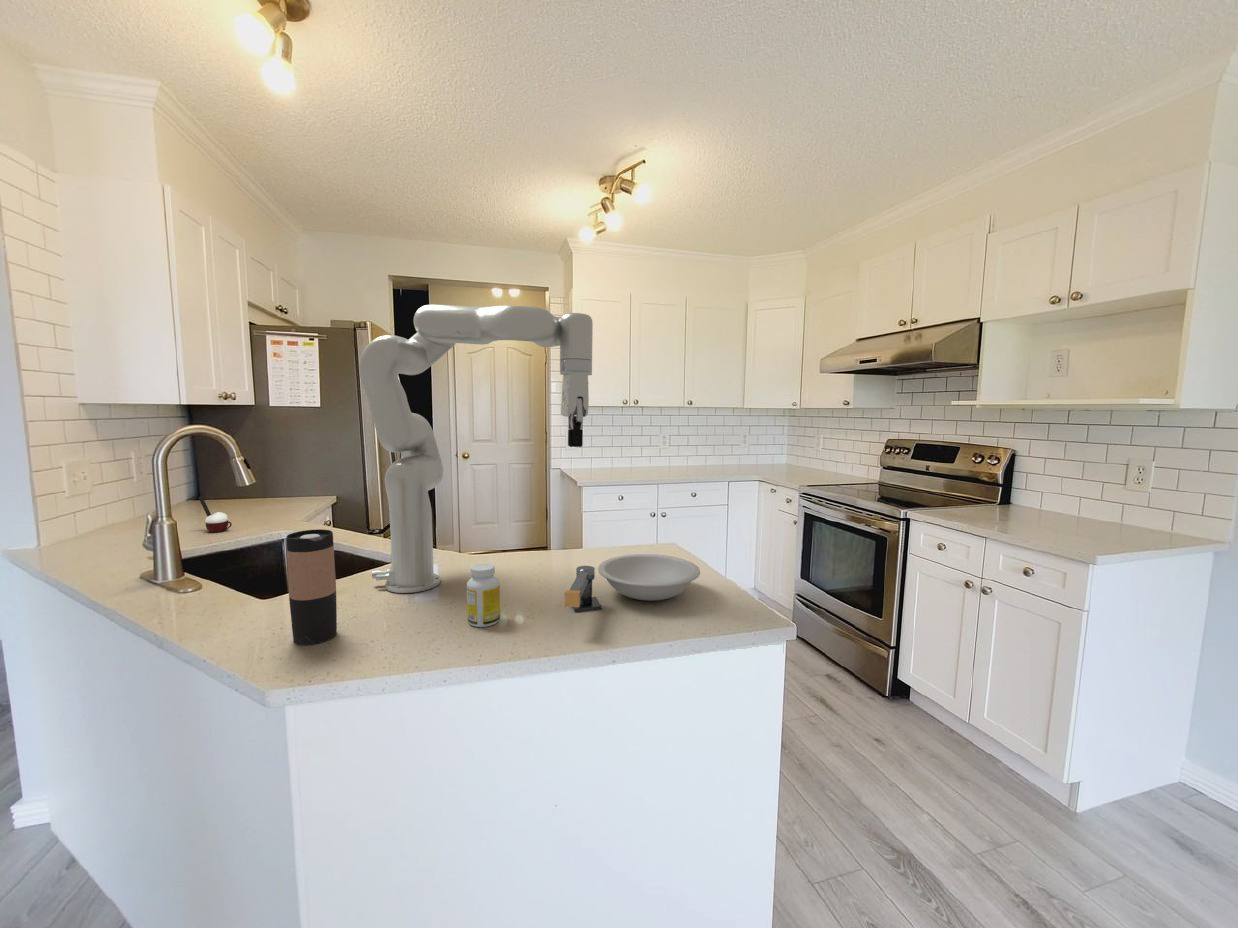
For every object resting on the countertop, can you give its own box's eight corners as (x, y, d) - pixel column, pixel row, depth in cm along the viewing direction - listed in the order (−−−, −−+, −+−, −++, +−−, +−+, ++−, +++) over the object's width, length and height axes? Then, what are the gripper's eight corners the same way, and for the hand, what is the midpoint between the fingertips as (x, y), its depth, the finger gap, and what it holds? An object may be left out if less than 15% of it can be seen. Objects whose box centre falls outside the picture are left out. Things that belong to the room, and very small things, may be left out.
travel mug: (304, 628, 101) (299, 529, 99) (345, 627, 102) (340, 528, 100) (283, 646, 94) (276, 539, 92) (326, 645, 94) (321, 538, 92)
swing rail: (578, 576, 116) (578, 563, 116) (595, 576, 116) (595, 564, 116) (561, 606, 98) (561, 592, 98) (582, 607, 98) (582, 593, 98)
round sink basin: (719, 594, 123) (720, 567, 122) (655, 624, 105) (656, 593, 105) (642, 572, 139) (643, 548, 138) (576, 595, 122) (576, 567, 121)
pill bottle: (506, 618, 108) (505, 564, 106) (488, 630, 102) (487, 573, 100) (479, 613, 110) (478, 560, 109) (460, 625, 104) (459, 569, 102)
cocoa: (235, 531, 179) (235, 497, 178) (216, 535, 173) (216, 500, 172) (215, 528, 182) (215, 494, 181) (196, 531, 176) (196, 497, 175)
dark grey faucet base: (574, 612, 111) (574, 585, 110) (569, 602, 117) (569, 576, 116) (601, 609, 113) (601, 582, 112) (595, 599, 118) (595, 574, 118)
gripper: (554, 369, 126) (554, 444, 128) (565, 365, 112) (565, 449, 114) (584, 371, 129) (583, 444, 130) (599, 366, 114) (598, 449, 116)
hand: (575, 446), depth 122 cm, fingers closed
